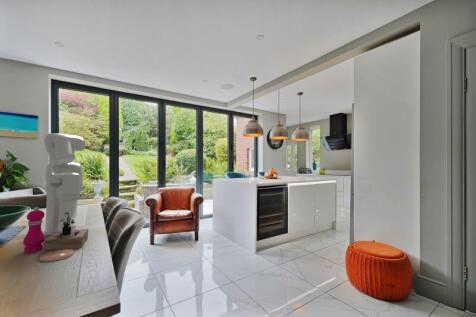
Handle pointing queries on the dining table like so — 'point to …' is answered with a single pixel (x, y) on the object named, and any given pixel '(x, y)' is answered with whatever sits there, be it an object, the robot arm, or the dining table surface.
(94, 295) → the dining table surface
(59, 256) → the tan round disc
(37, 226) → the pepper mill
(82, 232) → the bottle holder
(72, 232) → the smoothie
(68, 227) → the robot arm
